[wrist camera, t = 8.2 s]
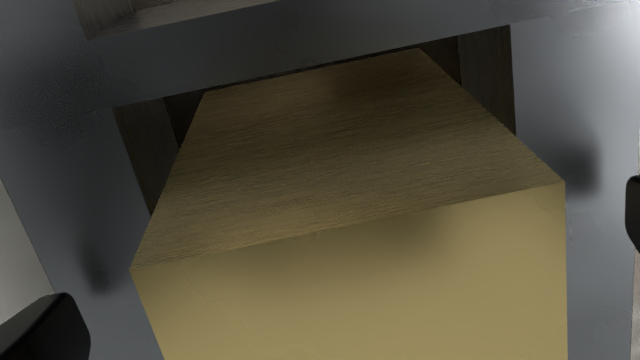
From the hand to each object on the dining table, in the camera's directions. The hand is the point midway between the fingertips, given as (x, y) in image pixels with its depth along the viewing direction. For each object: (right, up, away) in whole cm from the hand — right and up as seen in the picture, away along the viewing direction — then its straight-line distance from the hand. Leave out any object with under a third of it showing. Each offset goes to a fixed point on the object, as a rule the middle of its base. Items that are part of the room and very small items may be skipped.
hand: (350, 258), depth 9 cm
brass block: (0, +1, +3) cm, 4 cm away
